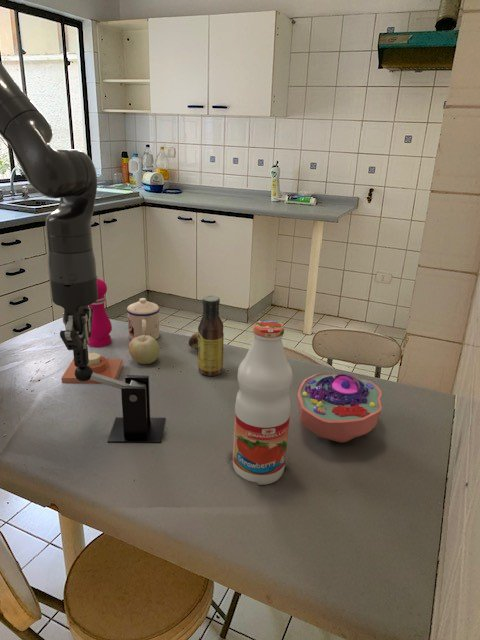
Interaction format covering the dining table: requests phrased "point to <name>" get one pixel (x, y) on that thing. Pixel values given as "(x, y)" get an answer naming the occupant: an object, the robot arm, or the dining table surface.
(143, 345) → the fruit
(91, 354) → the button
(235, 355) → the dining table surface
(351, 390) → the cell model
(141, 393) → the bracket
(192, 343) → the mushroom
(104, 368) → the tiered orange pedestal
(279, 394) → the fruit juice
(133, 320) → the teacup with lid
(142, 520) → the dining table surface
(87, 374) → the tap lever
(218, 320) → the sauce bottle
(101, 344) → the pepper mill
